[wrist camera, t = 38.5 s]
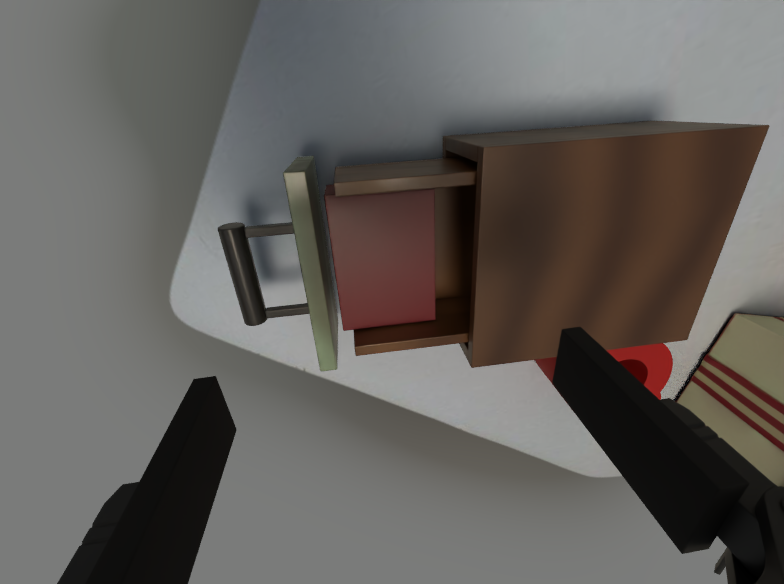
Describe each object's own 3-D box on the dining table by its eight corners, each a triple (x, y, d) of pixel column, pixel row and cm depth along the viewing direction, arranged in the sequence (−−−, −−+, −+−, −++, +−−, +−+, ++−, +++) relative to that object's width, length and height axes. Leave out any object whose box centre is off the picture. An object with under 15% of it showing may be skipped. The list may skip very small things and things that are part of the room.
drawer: (266, 327, 31) (247, 381, 25) (223, 162, 25) (185, 180, 19) (496, 301, 33) (531, 345, 27) (510, 140, 27) (560, 150, 21)
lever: (514, 347, 37) (547, 392, 31) (588, 281, 34) (639, 317, 28) (606, 419, 44) (647, 468, 38) (672, 369, 41) (728, 412, 35)
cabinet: (441, 308, 34) (471, 368, 26) (442, 135, 27) (483, 147, 19) (610, 288, 35) (687, 340, 27) (652, 120, 28) (770, 125, 20)
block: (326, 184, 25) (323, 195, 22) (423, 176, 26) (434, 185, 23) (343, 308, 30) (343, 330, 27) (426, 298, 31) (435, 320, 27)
